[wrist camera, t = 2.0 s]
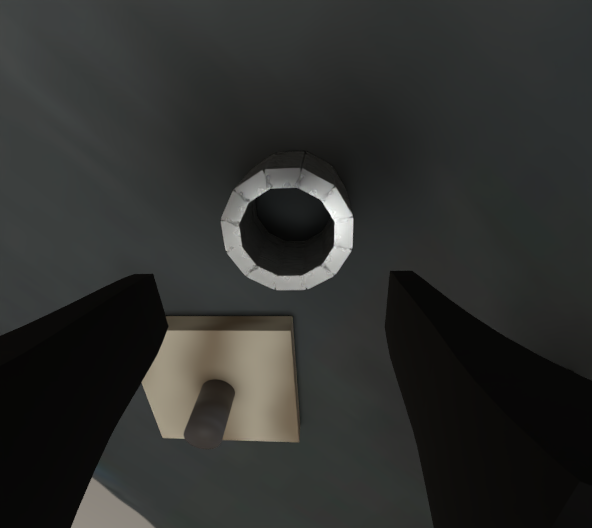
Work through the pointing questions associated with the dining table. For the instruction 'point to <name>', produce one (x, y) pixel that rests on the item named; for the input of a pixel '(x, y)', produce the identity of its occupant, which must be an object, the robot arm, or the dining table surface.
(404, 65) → the dining table surface
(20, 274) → the dining table surface
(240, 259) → the steel ring
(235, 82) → the dining table surface
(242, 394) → the post stand
